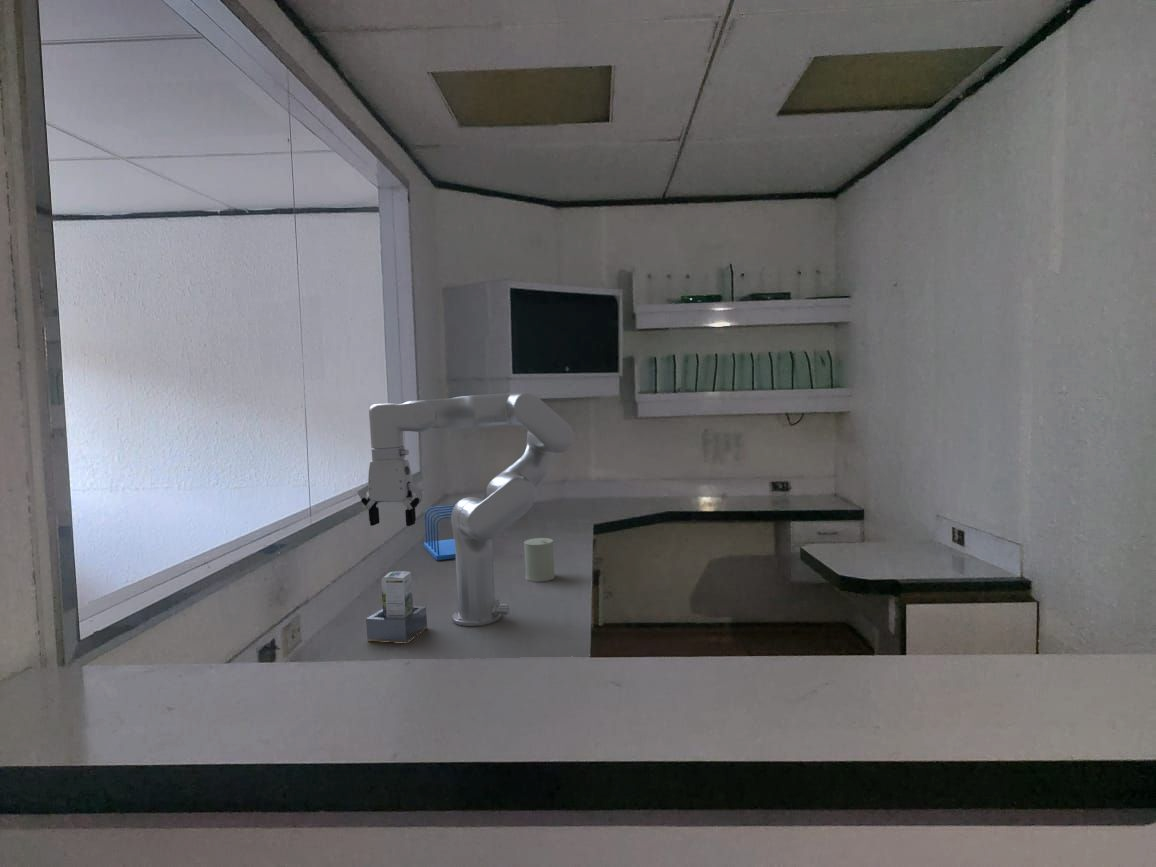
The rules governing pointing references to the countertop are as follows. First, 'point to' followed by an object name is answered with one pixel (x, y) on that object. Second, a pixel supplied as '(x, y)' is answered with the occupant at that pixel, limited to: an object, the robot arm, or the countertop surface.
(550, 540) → the can
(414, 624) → the shadow box frame
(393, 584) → the syrup box
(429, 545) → the file sorter
